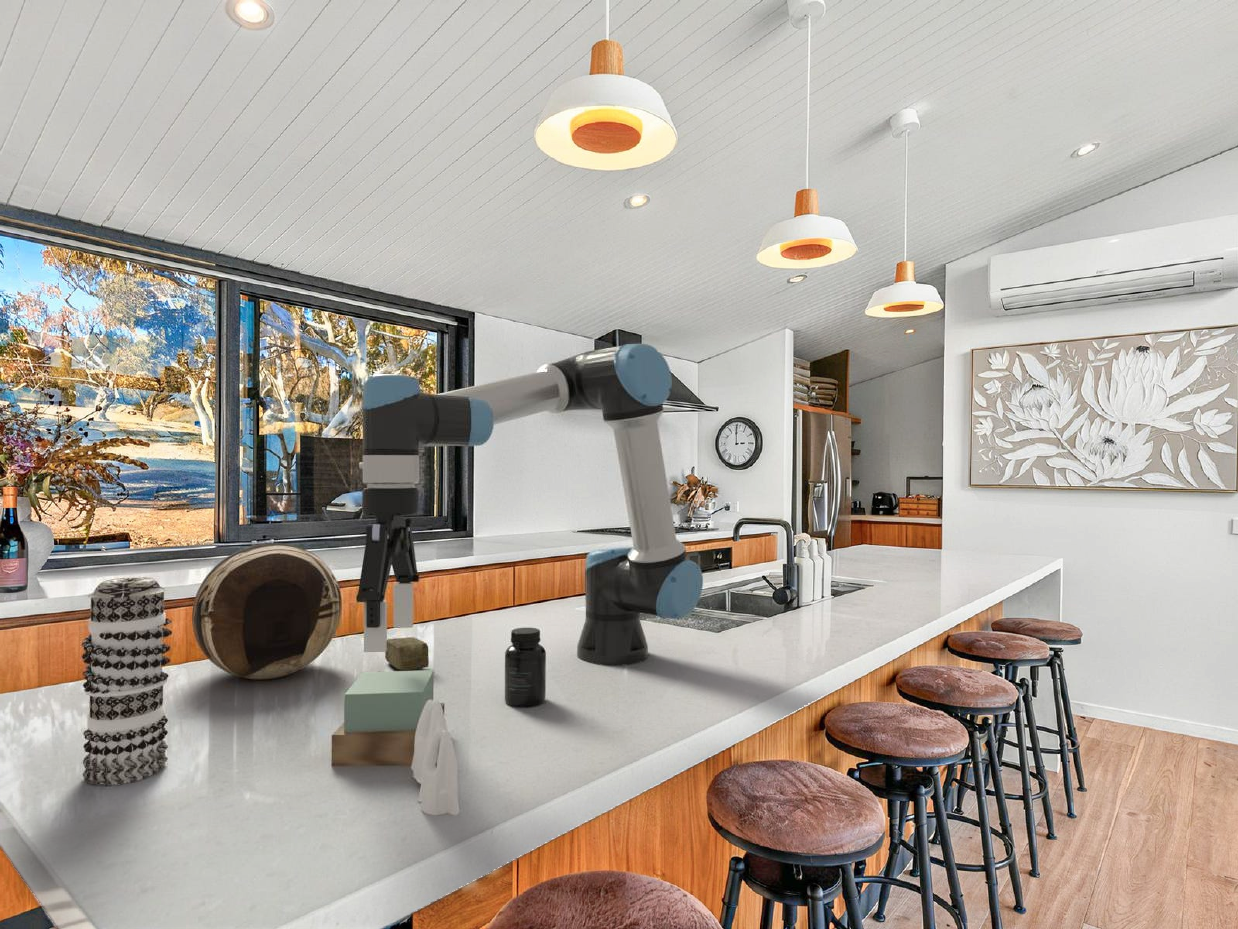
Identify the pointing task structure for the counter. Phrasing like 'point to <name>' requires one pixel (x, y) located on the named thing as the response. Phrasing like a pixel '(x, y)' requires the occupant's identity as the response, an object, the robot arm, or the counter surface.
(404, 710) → the sage top block
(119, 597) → the decorative candle
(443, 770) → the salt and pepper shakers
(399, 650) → the stone block
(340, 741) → the walnut base block
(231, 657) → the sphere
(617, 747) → the counter surface
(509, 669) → the supplement bottle
